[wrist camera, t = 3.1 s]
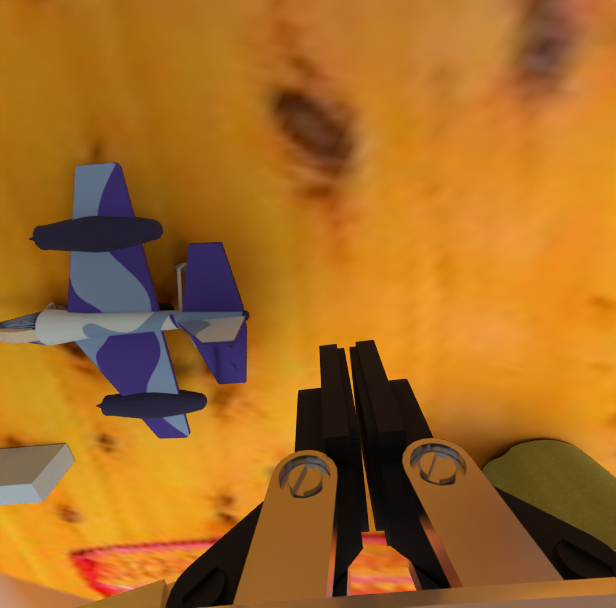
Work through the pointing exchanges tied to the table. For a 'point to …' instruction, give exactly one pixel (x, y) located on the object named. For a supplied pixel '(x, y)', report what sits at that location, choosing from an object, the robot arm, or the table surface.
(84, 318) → the toy airplane
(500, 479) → the plant pot
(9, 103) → the table surface
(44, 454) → the white u-shaped frame
